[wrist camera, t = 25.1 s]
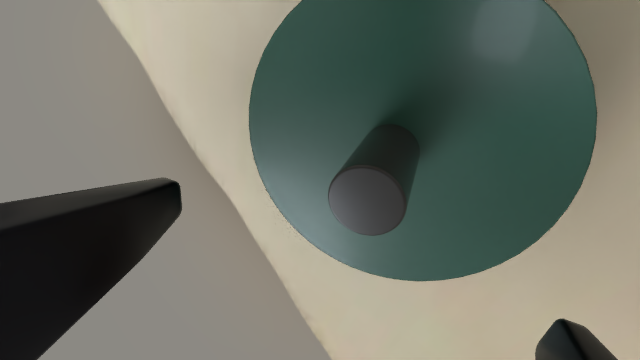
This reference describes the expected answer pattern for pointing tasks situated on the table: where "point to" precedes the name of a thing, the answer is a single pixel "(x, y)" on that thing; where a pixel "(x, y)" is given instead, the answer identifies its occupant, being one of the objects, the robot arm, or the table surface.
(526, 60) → the pot lid
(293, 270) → the table surface
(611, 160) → the table surface
